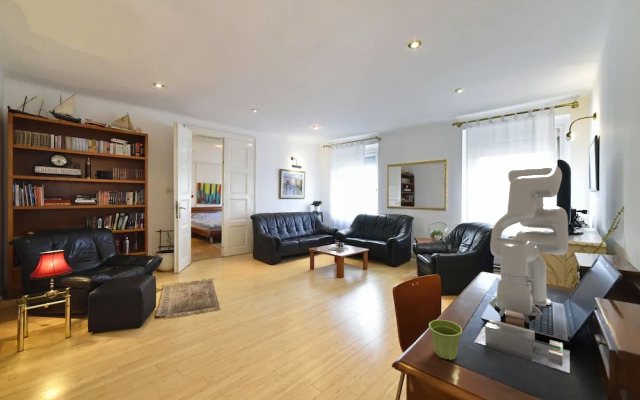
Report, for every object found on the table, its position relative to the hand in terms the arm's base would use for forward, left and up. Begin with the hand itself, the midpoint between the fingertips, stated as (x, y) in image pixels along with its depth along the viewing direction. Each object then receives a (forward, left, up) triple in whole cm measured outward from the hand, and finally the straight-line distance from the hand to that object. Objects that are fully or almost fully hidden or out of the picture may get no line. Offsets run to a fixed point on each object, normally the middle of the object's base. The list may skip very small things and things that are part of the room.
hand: (514, 328), depth 92 cm
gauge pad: (+8, +3, -1) cm, 8 cm away
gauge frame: (+9, +2, -1) cm, 10 cm away
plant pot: (+28, -14, -2) cm, 31 cm away
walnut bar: (0, 0, -1) cm, 1 cm away
